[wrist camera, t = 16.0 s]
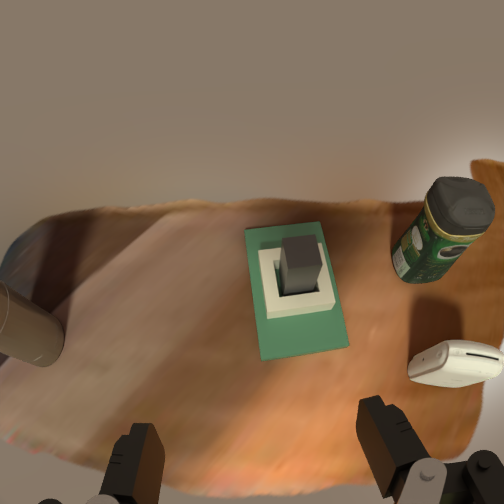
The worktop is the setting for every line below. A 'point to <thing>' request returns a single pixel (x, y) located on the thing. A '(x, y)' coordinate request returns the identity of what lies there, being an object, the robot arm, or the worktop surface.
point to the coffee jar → (443, 229)
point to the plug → (299, 265)
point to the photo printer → (456, 364)
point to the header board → (300, 325)
